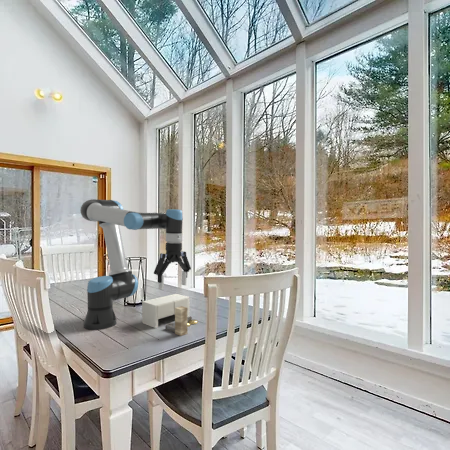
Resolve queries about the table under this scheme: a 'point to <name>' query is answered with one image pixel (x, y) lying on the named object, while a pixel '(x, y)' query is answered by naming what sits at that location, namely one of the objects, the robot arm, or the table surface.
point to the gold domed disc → (193, 321)
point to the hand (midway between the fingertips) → (172, 287)
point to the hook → (179, 321)
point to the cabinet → (163, 308)
